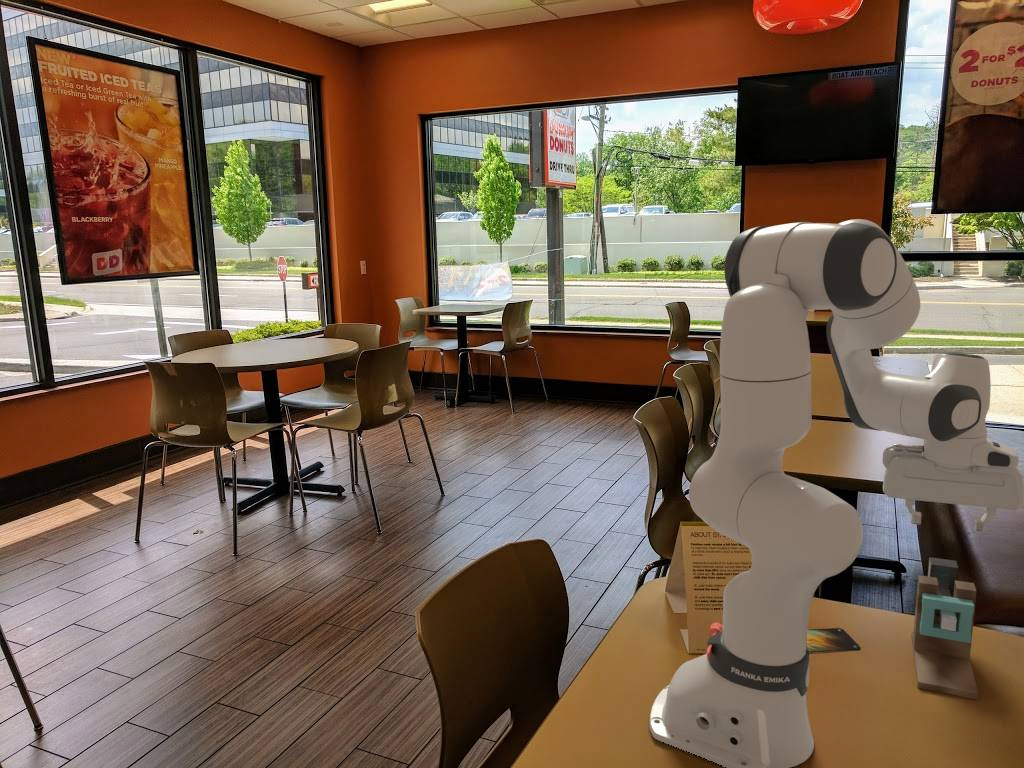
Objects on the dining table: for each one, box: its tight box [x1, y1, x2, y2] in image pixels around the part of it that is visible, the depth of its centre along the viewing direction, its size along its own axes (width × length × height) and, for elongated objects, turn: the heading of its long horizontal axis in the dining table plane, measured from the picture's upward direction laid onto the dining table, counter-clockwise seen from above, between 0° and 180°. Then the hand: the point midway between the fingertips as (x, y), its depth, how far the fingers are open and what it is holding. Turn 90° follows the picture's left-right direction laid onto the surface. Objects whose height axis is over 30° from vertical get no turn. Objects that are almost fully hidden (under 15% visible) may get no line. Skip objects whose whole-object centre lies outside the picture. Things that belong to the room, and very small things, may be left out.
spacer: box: [919, 593, 975, 643], centre depth 119 cm, size 7×2×6 cm, turn 65°
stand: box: [910, 574, 979, 701], centre depth 118 cm, size 8×16×13 cm, turn 155°
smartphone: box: [806, 627, 862, 654], centre depth 128 cm, size 7×1×15 cm
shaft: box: [927, 556, 959, 631], centre depth 121 cm, size 4×14×7 cm, turn 155°
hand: (947, 526), depth 124 cm, fingers open, 8 cm apart
